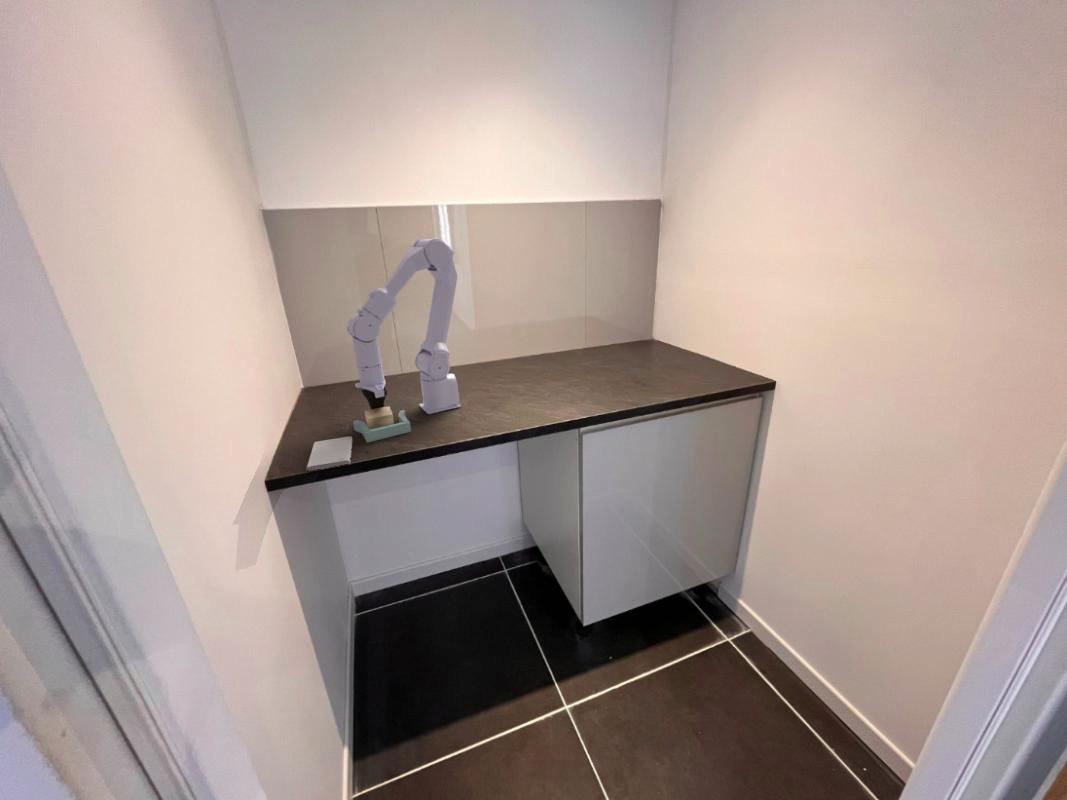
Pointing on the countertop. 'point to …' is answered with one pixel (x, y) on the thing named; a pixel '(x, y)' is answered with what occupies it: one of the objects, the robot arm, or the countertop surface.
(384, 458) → the countertop surface
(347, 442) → the hard drive
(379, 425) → the birch block
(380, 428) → the dock
